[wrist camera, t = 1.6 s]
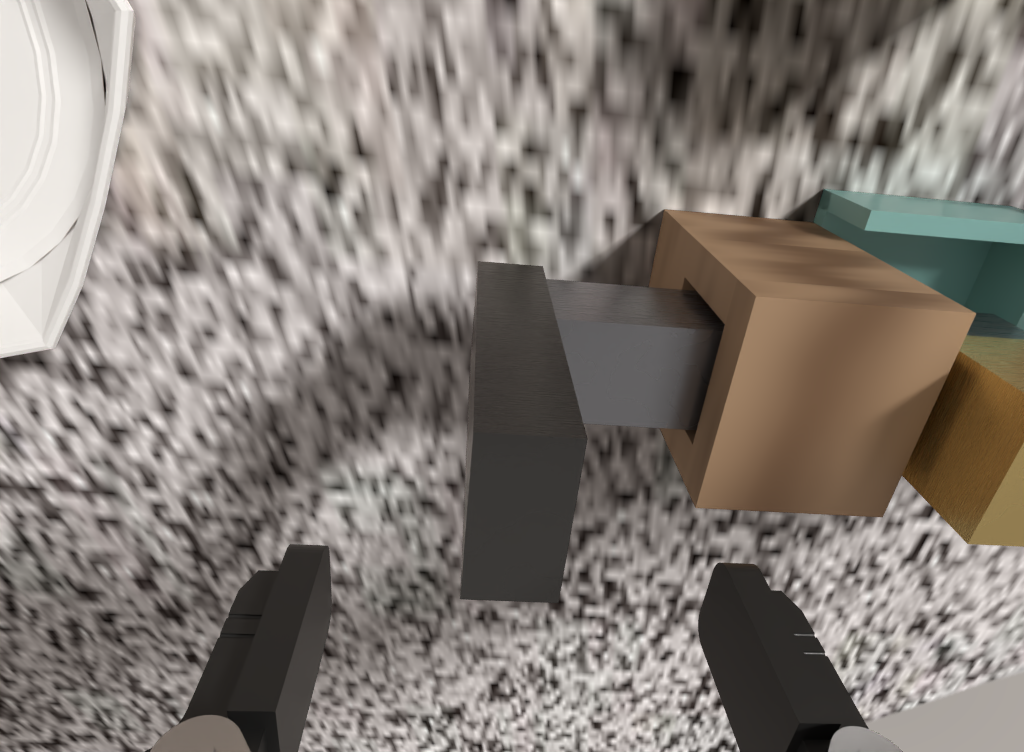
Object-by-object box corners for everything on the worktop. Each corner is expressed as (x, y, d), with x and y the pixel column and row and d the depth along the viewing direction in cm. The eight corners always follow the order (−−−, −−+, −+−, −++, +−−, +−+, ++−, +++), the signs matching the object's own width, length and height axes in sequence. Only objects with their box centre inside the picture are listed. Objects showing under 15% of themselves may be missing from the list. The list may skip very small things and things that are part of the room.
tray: (1011, 206, 29) (1083, 229, 26) (918, 411, 34) (968, 454, 31) (823, 188, 29) (871, 210, 25) (757, 401, 34) (789, 443, 30)
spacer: (1066, 342, 23) (1208, 417, 18) (1002, 459, 25) (1115, 550, 20) (932, 332, 22) (1043, 405, 18) (880, 452, 24) (967, 543, 20)
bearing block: (813, 222, 29) (976, 313, 20) (765, 376, 33) (882, 517, 23) (664, 209, 29) (756, 296, 19) (632, 367, 33) (695, 507, 23)
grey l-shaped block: (998, 302, 26) (1350, 483, 16) (948, 408, 28) (1225, 627, 18) (477, 261, 24) (473, 432, 14) (469, 376, 27) (460, 598, 16)
